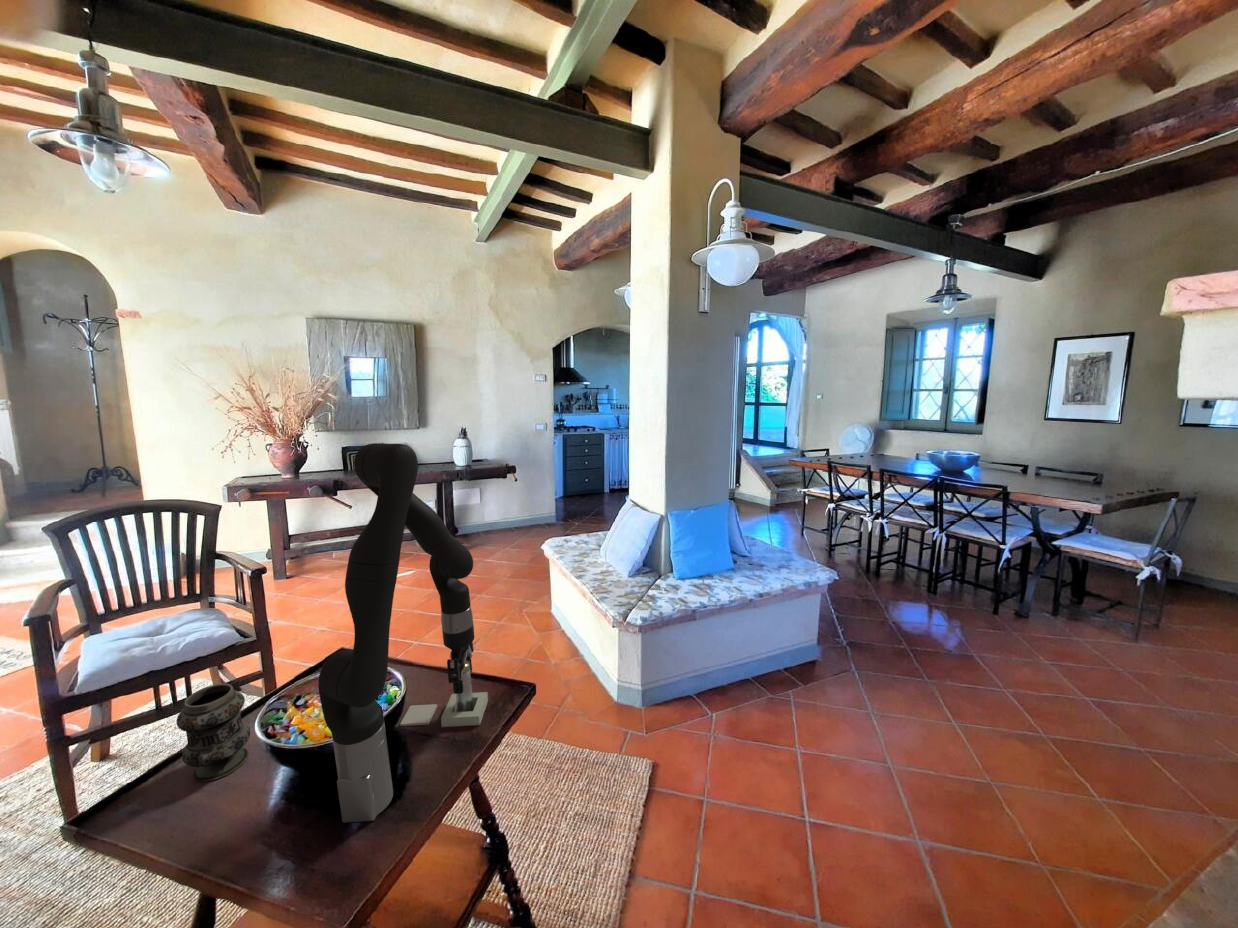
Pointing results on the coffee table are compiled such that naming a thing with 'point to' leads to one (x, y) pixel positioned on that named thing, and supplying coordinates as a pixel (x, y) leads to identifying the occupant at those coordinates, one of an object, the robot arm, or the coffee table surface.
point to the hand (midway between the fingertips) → (463, 682)
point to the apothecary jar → (214, 732)
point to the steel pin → (465, 691)
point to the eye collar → (464, 718)
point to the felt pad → (418, 715)
